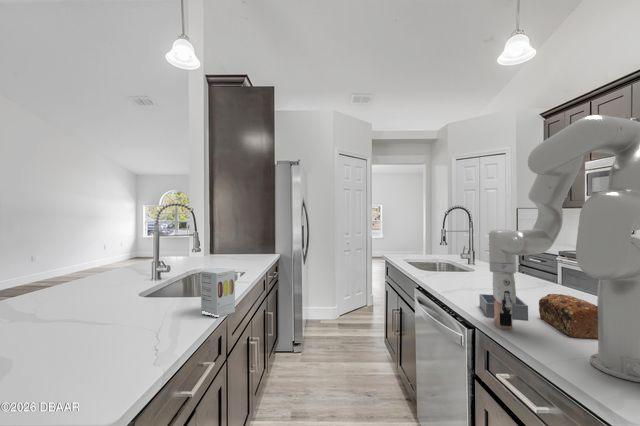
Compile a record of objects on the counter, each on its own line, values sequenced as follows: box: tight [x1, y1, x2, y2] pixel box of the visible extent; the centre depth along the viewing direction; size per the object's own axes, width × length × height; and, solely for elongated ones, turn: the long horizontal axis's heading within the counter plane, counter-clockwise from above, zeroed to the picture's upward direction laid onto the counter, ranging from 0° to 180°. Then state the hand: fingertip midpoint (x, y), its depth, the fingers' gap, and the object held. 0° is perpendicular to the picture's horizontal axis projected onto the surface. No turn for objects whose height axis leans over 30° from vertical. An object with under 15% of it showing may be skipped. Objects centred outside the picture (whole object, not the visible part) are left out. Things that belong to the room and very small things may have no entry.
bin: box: [478, 293, 529, 321], centre depth 116 cm, size 13×13×5 cm
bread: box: [538, 293, 598, 340], centre depth 101 cm, size 19×11×10 cm, turn 168°
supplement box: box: [200, 267, 236, 318], centre depth 122 cm, size 10×9×17 cm
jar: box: [494, 300, 513, 330], centre depth 103 cm, size 5×5×8 cm
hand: (503, 322), depth 103 cm, fingers closed on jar, 5 cm apart
